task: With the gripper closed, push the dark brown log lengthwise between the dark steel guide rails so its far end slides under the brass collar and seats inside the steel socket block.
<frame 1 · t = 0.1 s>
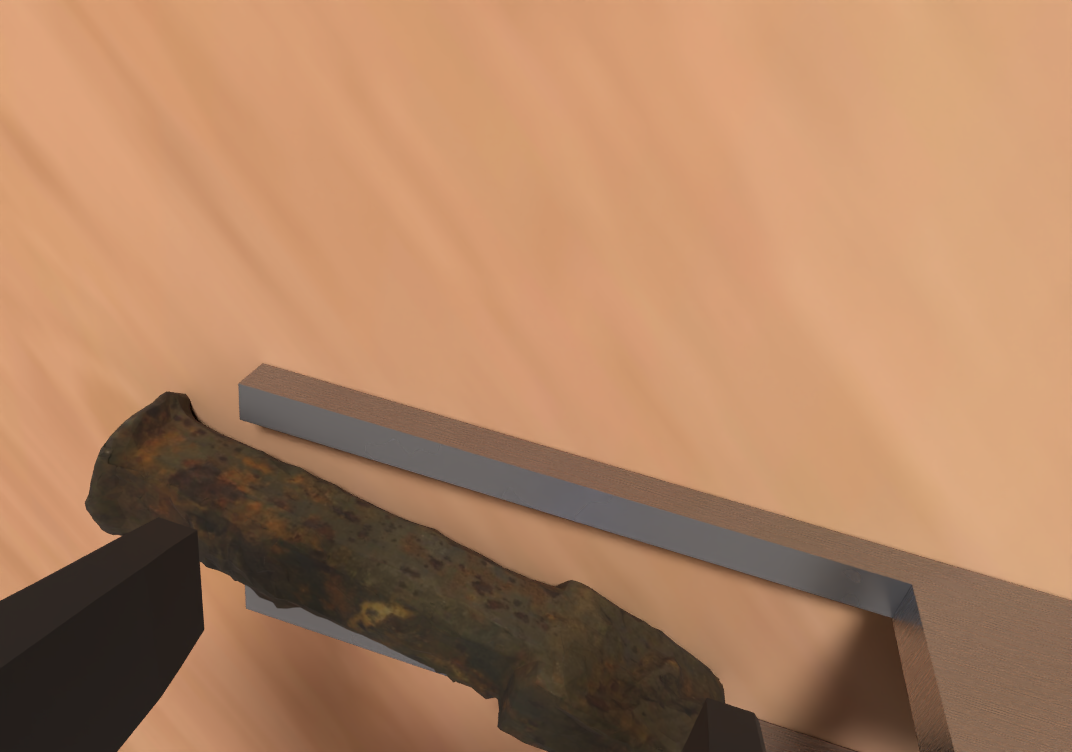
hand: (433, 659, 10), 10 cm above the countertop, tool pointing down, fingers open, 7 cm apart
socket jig: (838, 664, 22), on the countertop
dark brown log: (448, 528, 24), on the countertop
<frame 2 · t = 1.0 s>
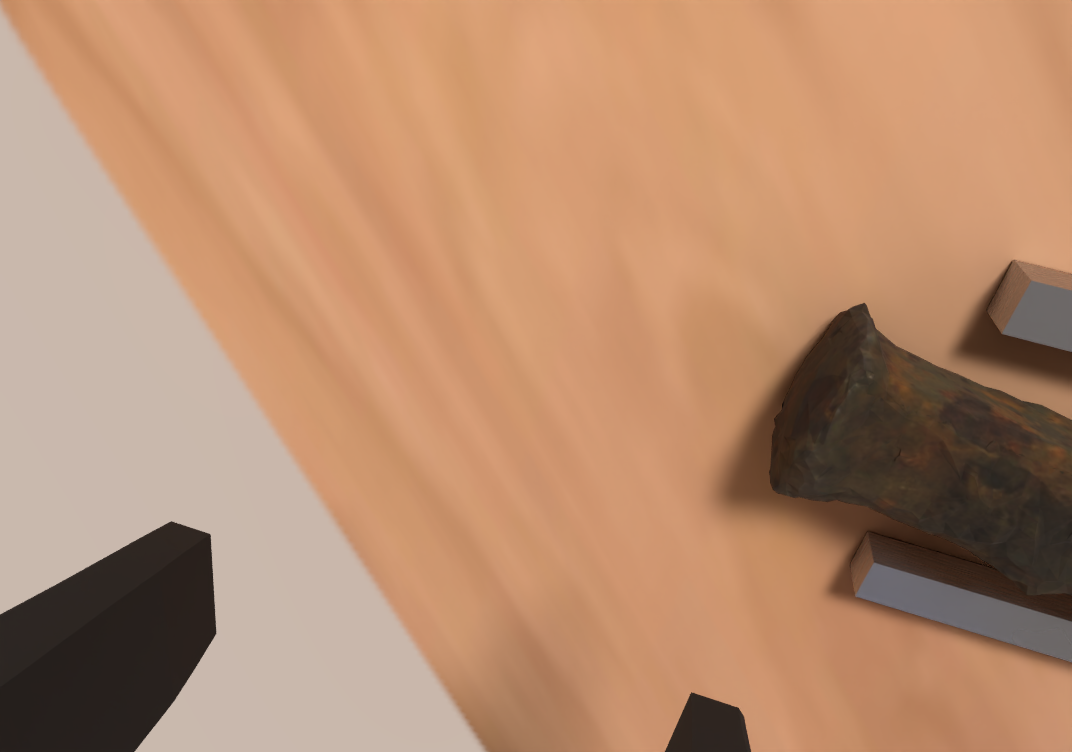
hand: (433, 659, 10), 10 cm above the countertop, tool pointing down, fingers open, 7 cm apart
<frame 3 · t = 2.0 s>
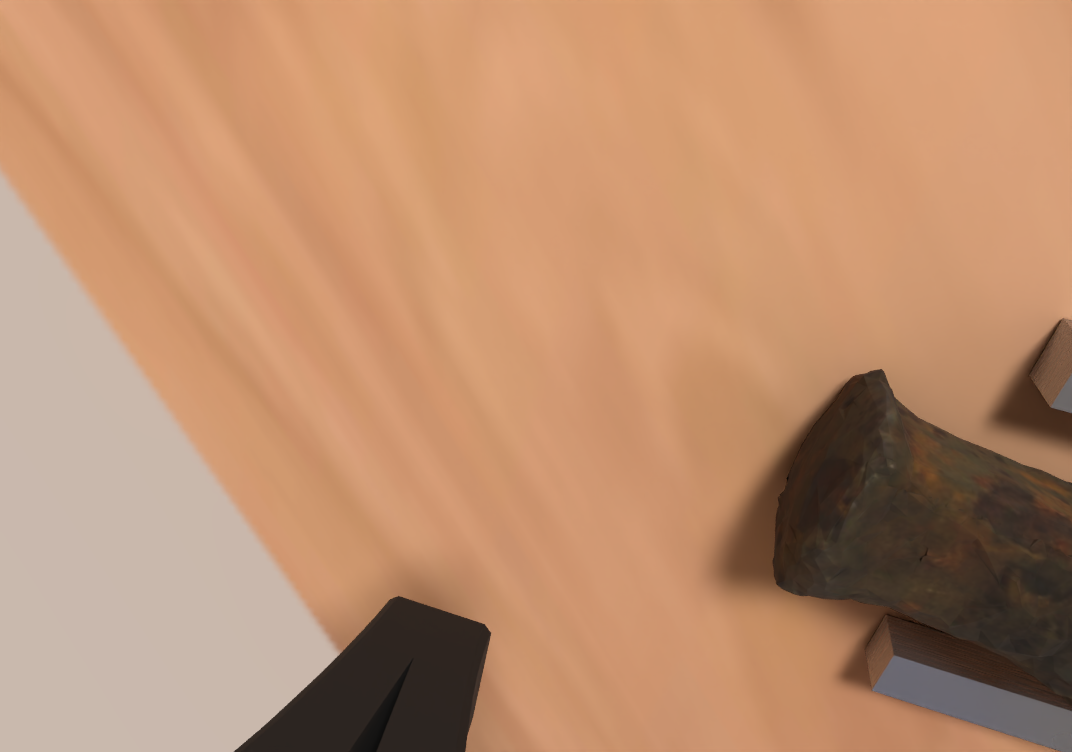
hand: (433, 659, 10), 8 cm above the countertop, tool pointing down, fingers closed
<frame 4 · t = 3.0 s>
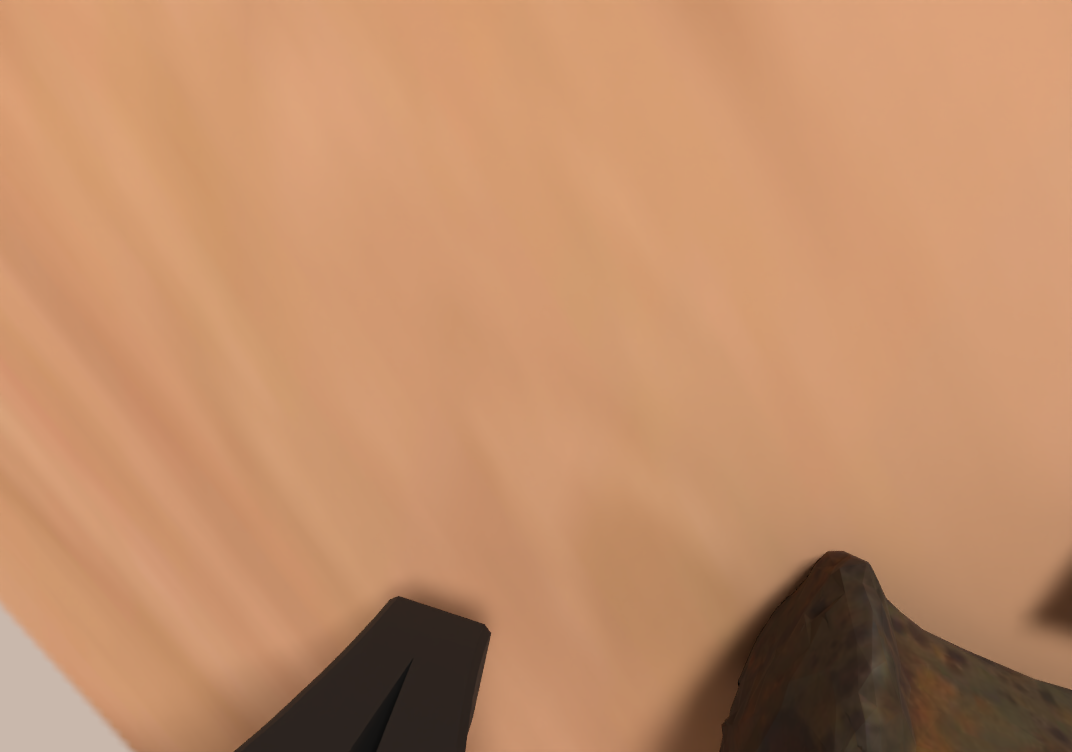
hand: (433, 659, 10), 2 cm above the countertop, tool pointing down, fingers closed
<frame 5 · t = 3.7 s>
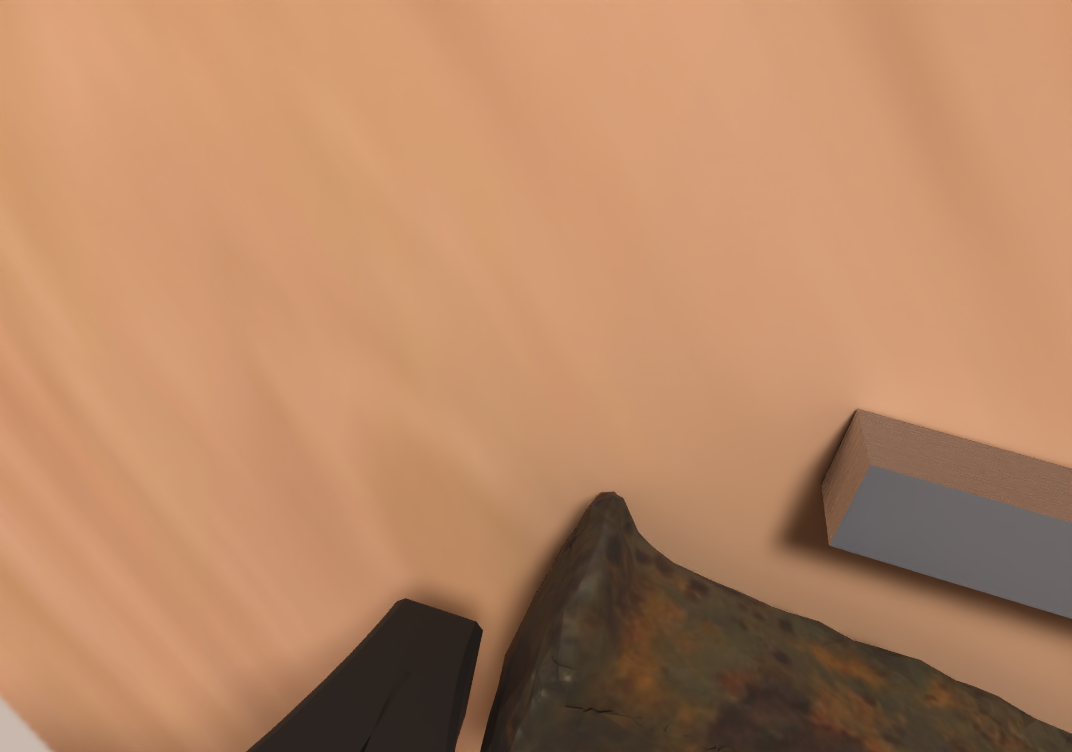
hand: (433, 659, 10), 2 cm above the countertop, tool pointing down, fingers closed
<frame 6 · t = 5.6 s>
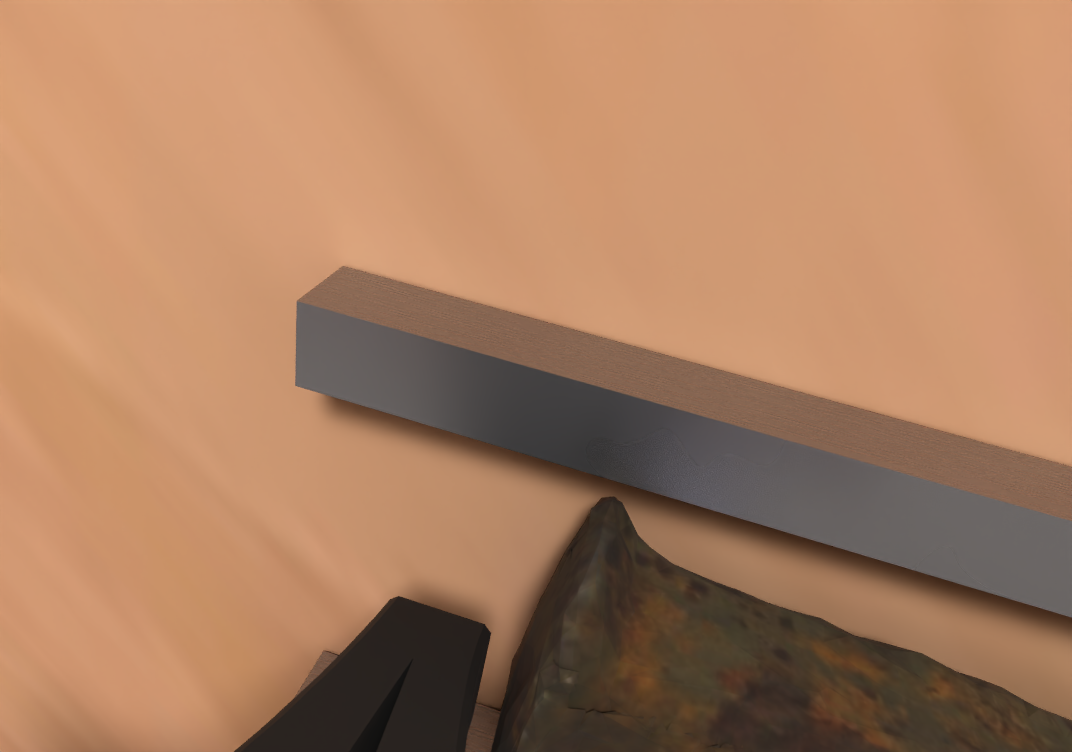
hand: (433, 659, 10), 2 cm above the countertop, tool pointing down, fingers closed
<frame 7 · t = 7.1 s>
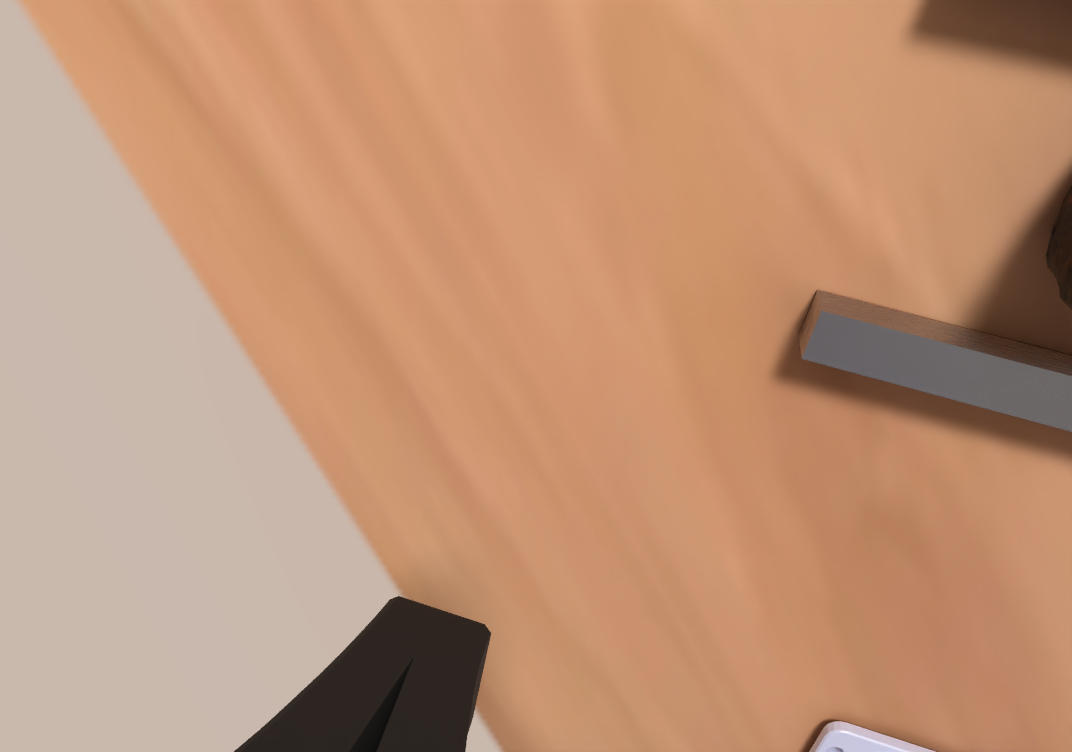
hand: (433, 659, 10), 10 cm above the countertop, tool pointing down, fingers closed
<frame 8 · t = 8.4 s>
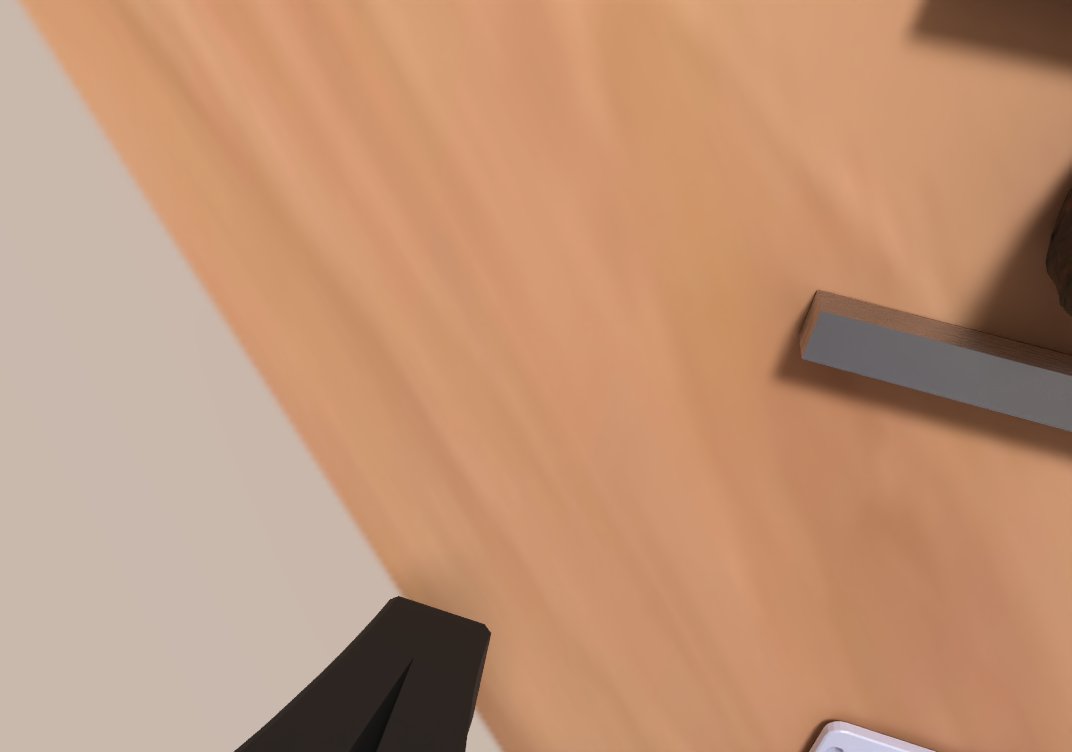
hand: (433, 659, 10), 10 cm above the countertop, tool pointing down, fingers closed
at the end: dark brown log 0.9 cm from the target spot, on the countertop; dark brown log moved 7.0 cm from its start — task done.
